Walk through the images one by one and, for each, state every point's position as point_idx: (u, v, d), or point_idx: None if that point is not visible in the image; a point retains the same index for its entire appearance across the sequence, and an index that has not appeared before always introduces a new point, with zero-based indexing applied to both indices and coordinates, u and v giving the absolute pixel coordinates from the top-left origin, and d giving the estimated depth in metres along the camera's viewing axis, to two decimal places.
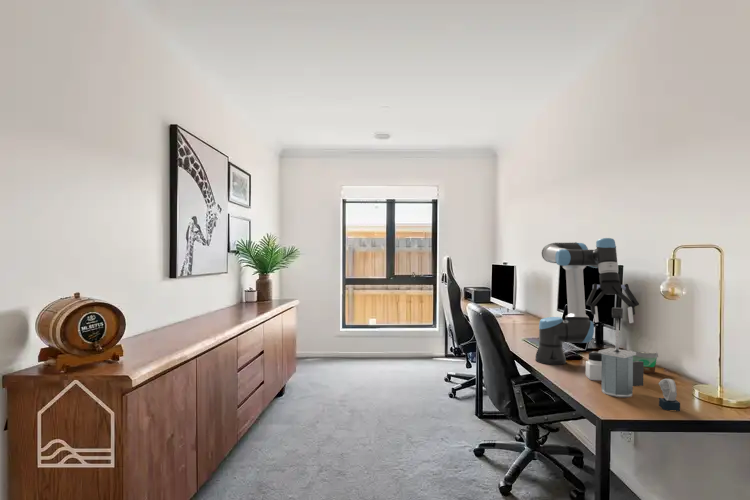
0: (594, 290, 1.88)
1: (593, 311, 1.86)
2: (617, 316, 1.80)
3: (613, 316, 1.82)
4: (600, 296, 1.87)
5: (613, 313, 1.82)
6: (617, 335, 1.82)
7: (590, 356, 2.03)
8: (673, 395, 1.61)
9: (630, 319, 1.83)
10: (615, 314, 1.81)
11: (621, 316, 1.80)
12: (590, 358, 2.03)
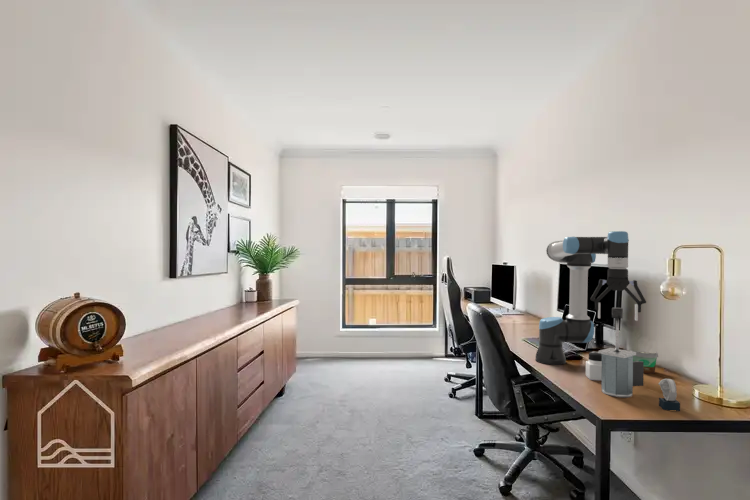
0: (599, 286, 1.84)
1: (596, 307, 1.85)
2: (617, 316, 1.80)
3: (613, 316, 1.82)
4: (605, 293, 1.83)
5: (613, 313, 1.82)
6: (617, 335, 1.82)
7: (590, 356, 2.03)
8: (673, 395, 1.61)
9: (635, 317, 1.79)
10: (615, 314, 1.81)
11: (621, 316, 1.80)
12: (590, 358, 2.03)
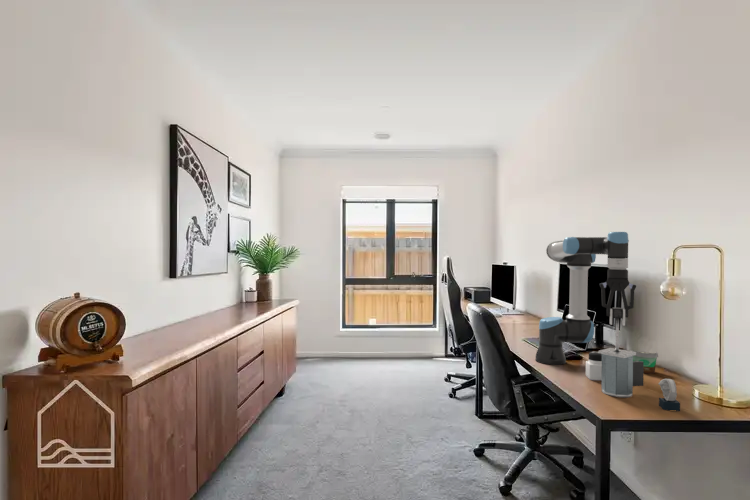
0: (603, 290, 1.83)
1: (608, 314, 1.83)
2: (617, 316, 1.80)
3: (613, 316, 1.82)
4: (611, 296, 1.82)
5: (613, 313, 1.82)
6: (617, 335, 1.82)
7: (590, 356, 2.03)
8: (673, 395, 1.61)
9: (622, 322, 1.81)
10: (615, 314, 1.81)
11: (621, 316, 1.80)
12: (590, 358, 2.03)
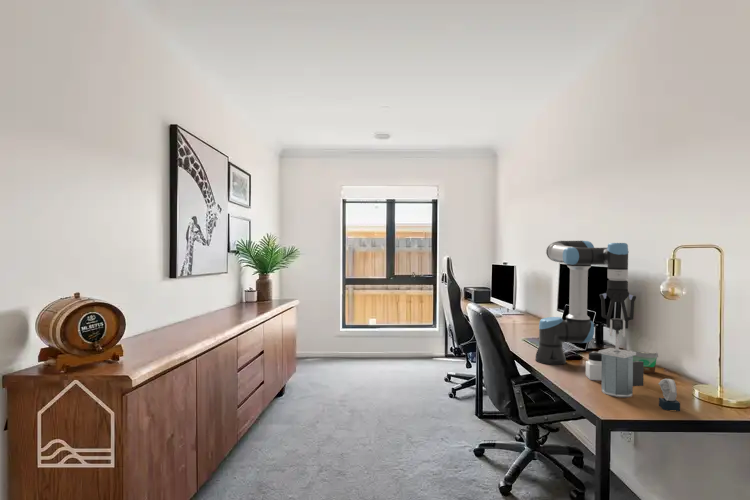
0: (603, 301, 1.83)
1: (608, 324, 1.83)
2: (617, 327, 1.80)
3: (613, 327, 1.82)
4: (611, 307, 1.82)
5: (613, 324, 1.82)
6: (617, 345, 1.82)
7: (590, 356, 2.03)
8: (673, 395, 1.61)
9: (622, 333, 1.81)
10: (615, 325, 1.81)
11: (621, 327, 1.80)
12: (590, 358, 2.03)
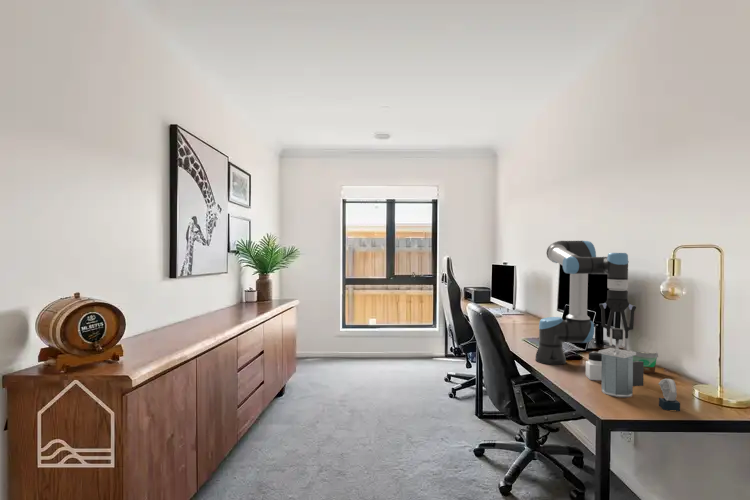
0: (603, 311, 1.83)
1: (608, 334, 1.83)
2: (617, 337, 1.81)
3: (613, 337, 1.82)
4: (611, 317, 1.82)
5: (613, 334, 1.82)
6: None
7: (590, 356, 2.03)
8: (673, 395, 1.61)
9: (622, 342, 1.81)
10: (615, 335, 1.81)
11: (621, 337, 1.80)
12: (590, 358, 2.03)
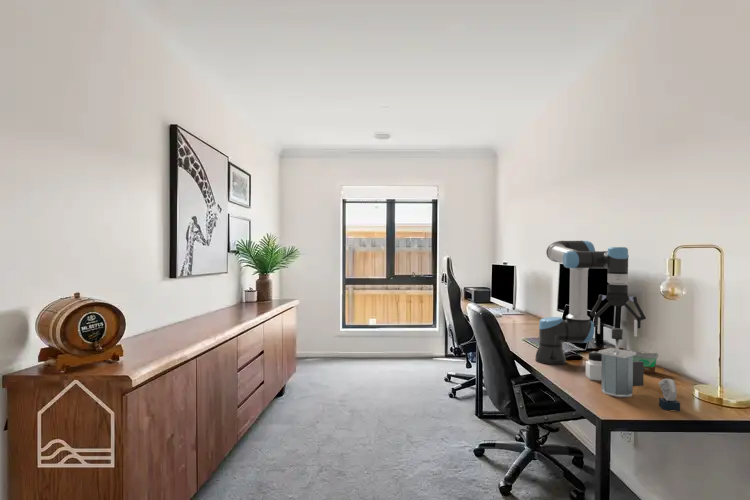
0: (599, 302, 1.84)
1: (596, 322, 1.85)
2: (617, 337, 1.81)
3: (613, 337, 1.82)
4: (604, 308, 1.83)
5: (613, 334, 1.82)
6: None
7: (590, 356, 2.03)
8: (673, 395, 1.61)
9: (634, 332, 1.80)
10: (615, 335, 1.81)
11: (621, 337, 1.80)
12: (590, 358, 2.03)
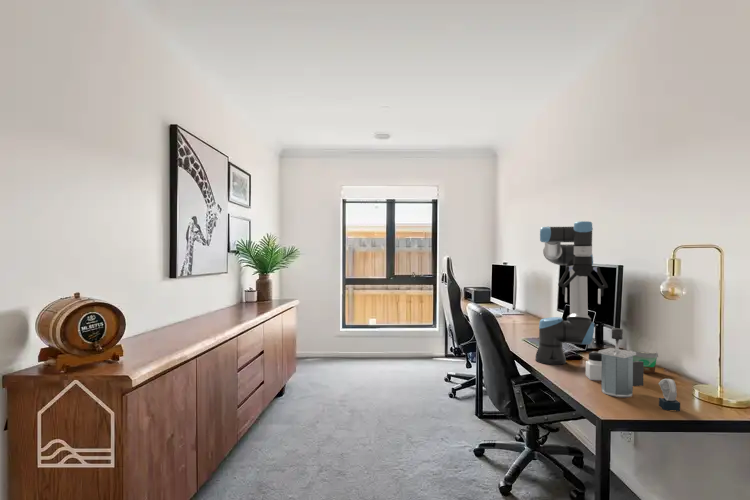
0: (566, 273, 1.98)
1: (563, 292, 1.99)
2: (617, 337, 1.81)
3: (613, 337, 1.82)
4: (571, 278, 1.97)
5: (613, 334, 1.82)
6: None
7: (590, 356, 2.03)
8: (673, 395, 1.61)
9: (598, 300, 1.94)
10: (615, 335, 1.81)
11: (621, 337, 1.80)
12: (590, 358, 2.03)
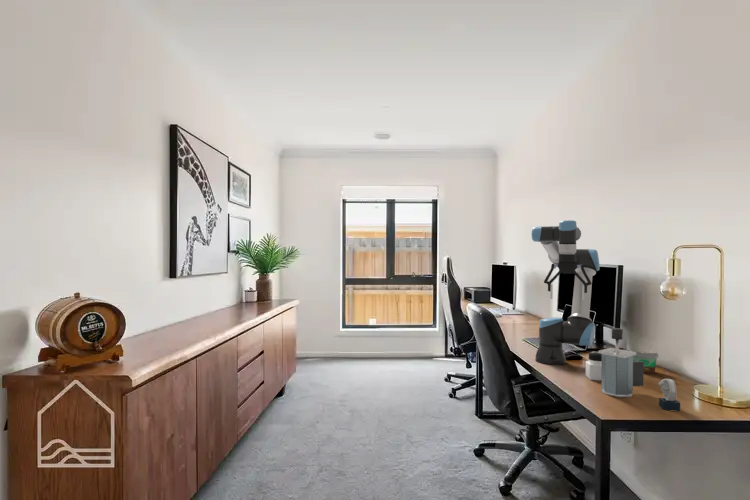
0: (551, 270, 2.05)
1: (549, 289, 2.06)
2: (617, 337, 1.81)
3: (613, 337, 1.82)
4: (556, 275, 2.04)
5: (613, 334, 1.82)
6: None
7: (590, 356, 2.03)
8: (673, 395, 1.61)
9: (582, 297, 2.00)
10: (615, 335, 1.81)
11: (621, 337, 1.80)
12: (590, 358, 2.03)
